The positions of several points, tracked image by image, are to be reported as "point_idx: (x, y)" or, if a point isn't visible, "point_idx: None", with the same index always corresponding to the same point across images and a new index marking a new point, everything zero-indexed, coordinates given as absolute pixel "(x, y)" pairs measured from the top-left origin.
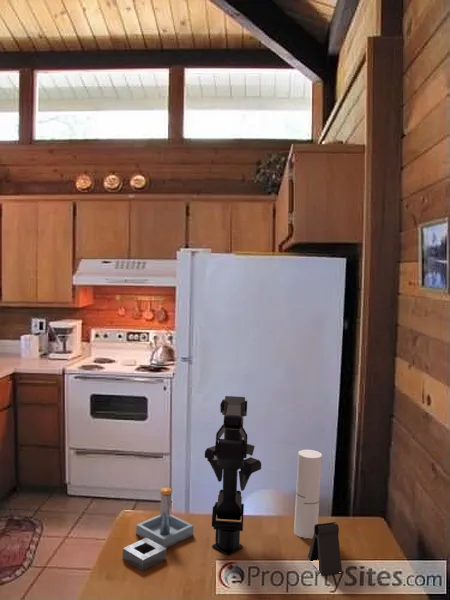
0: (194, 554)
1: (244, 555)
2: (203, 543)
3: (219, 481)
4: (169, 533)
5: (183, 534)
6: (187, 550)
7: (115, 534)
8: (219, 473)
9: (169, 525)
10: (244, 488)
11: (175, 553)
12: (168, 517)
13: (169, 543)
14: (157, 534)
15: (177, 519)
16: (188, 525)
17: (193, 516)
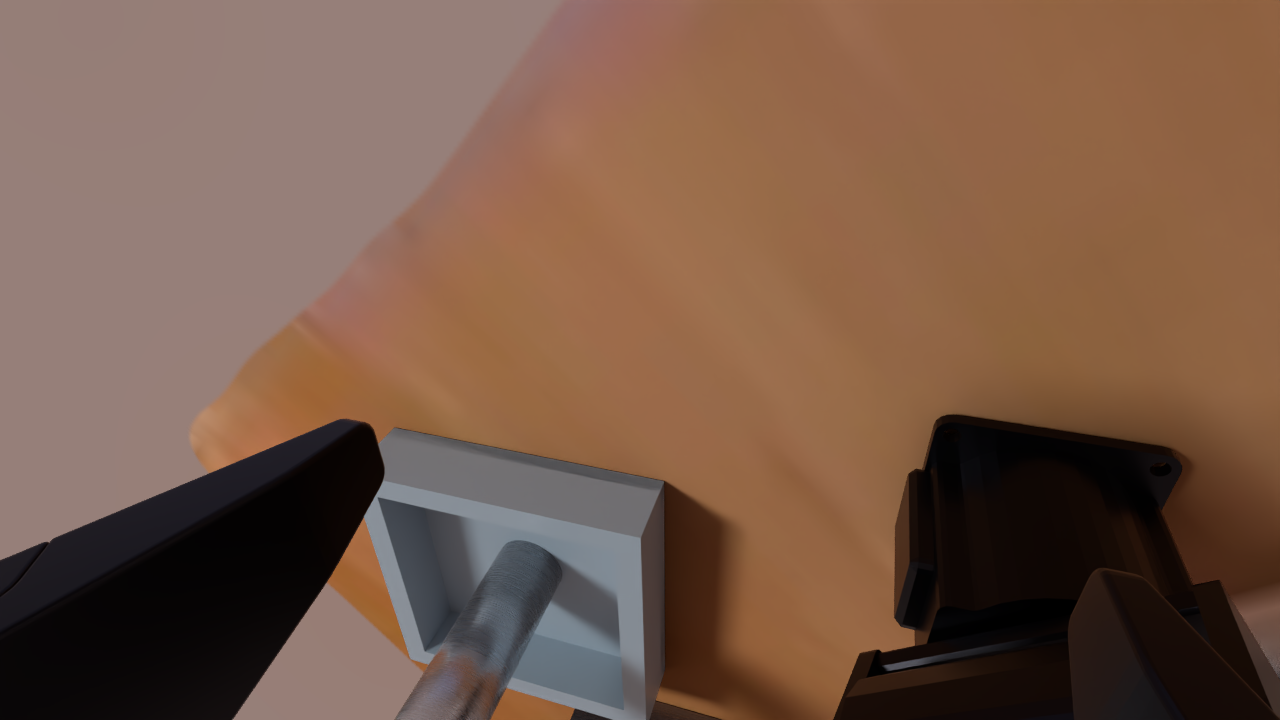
0: (851, 653)
1: (1253, 539)
2: (808, 534)
3: (381, 480)
4: (557, 561)
5: (652, 584)
6: (780, 634)
7: (392, 640)
8: (236, 623)
9: (534, 612)
10: (1173, 624)
11: (747, 677)
12: (507, 680)
13: (659, 657)
14: (576, 701)
15: (489, 519)
16: (615, 554)
17: (433, 248)
